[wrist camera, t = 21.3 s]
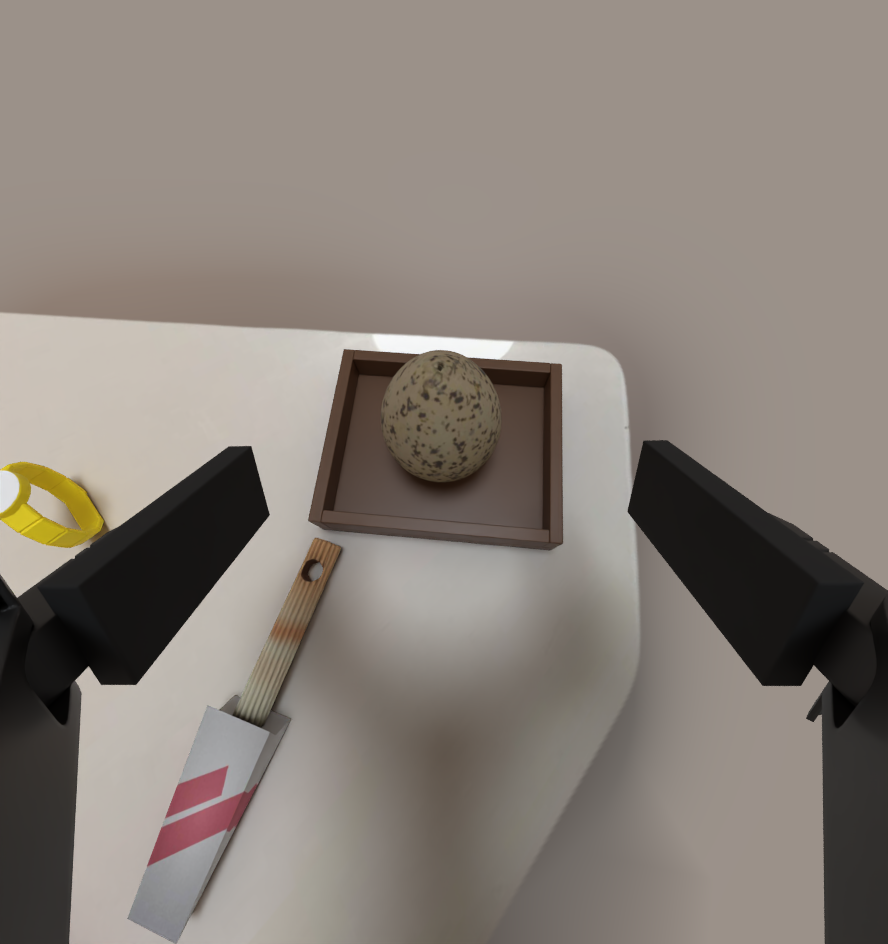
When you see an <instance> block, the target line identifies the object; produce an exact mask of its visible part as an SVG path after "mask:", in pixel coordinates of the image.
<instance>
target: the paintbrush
mask: <svg viewBox="0 0 888 944" xmlns="http://www.w3.org/2000/svg"><path fill="white" fill-rule="evenodd" d="M340 550H341V547H339V546H337V545H335V544H333V543H330V542H327V541H325V540H322V539H319V538H315V539H314V540H313V542H312V544H311V547H310V549H309V551H308V553H307V556H306V558H305V560H304V562H303V564H302V567H301V569H300V571H299V573H298V575H297V577H296V579H295V582H294V584H293V586H292V588H291V590H290V592H289V594H288V597H287V599H286V601H285V603H284V605H283V607H282V609H281V612H280V614H279V616H278V618H277V620H276V622H275V624H274V627H273V629H272V631H271V633H270V635H269V637H268V639H267V642H266V644H265V646H264V648H263V650H262V652H261V655H260V657H259V659H258V661H257V663H256V665H255V667H254V670H253V672H252V674H251V676H250V678H249V680H248V683H247V685H246V687H245V689H244V691H243V694H242V696H241V698H240V697H238V696H236V695H235V696H234V697H233V698H232V699H231V700H230V701H228V702H227V703H226V704H225V705H224V706H223V707H222V708H221V709H220V710H218V709H215V708H213V707H211V706H208V705H207V708H206V711H205V713H204V716H203V719H202V721H201V724H200V727H199V729H198V732H197V735H196V737H195V740H194V743H193V745H192V748H191V751H190V753H189V756H188V759H187V761H186V764H185V767H184V769H183V772H182V775H181V777H180V780H179V783H178V785H177V788H176V791H175V793H174V796H173V799H172V801H171V804H170V807H169V809H168V812H167V815H166V817H165V820H164V822H163V825H162V828H161V830H160V833H159V836H158V838H157V841H156V844H155V846H154V849H153V852H152V854H151V857H150V860H149V862H148V865H147V868H146V870H145V873H144V876H143V878H142V881H141V884H140V886H139V889H138V892H137V894H136V897H135V900H134V902H133V905H132V908H131V910H130V913H129V916H128V918H127V919H129V920H131V921H133V922H135V923H137V924H139V925H141V926H142V927H144V928H146V929H148V930H150V931H152V932H154V933H156V934H158V935H160V936H162V937H164V938H165V939H167V940H169V941H171V942H173V943H175V944H176V943H177V942H178V940H179V938H180V936H181V934H182V932H183V930H184V928H185V926H186V924H187V922H188V920H189V918H190V916H191V914H192V912H193V910H194V908H195V906H196V904H197V902H198V900H199V898H200V896H201V895H202V893H203V891H204V889H205V887H206V885H207V883H208V881H209V879H210V877H211V875H212V873H213V871H214V869H215V867H216V865H217V863H218V861H219V859H220V857H221V855H222V853H223V851H224V850H225V848H226V846H227V844H228V842H229V840H230V838H231V836H232V834H233V832H234V830H235V828H236V826H237V824H238V822H239V820H240V818H241V816H242V814H243V812H244V810H245V808H246V806H247V804H248V803H249V801H250V799H251V797H252V795H253V793H254V791H255V789H256V787H257V785H258V783H259V781H260V779H261V777H262V775H263V773H264V771H265V769H266V767H267V765H268V763H269V761H270V759H271V758H272V756H273V754H274V752H275V750H276V748H277V746H278V744H279V742H280V740H281V738H282V736H283V734H284V732H285V730H286V728H287V726H288V724H289V722H290V720H291V719H290V718H288V717H286V716H283V715H281V714H278V713H276V712H274V711H271V708H272V706H273V703H274V701H275V699H276V696H277V694H278V692H279V689H280V687H281V685H282V683H283V680H284V678H285V676H286V674H287V671H288V669H289V667H290V665H291V662H292V660H293V658H294V656H295V653H296V651H297V649H298V646H299V644H300V642H301V639H302V637H303V635H304V633H305V630H306V628H307V626H308V623H309V621H310V619H311V617H312V614H313V612H314V610H315V607H316V605H317V603H318V600H319V598H320V596H321V594H322V591H323V589H324V587H325V584H326V582H327V580H328V577H329V575H330V573H331V571H332V568H333V566H334V564H335V561H336V559H337V557H338V554H339V552H340ZM319 562H320V563H321V565H322V567H323V572H322V575H321V577H320V578H319V579H318V580H315V581H311V580H310V577H309V576H308V571H309V569H310V567H311V566H312V565H313V564H316V563H319Z"/></svg>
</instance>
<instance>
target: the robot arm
mask: <svg viewBox="0 0 888 944" xmlns="http://www.w3.org/2000/svg"><path fill="white" fill-rule="evenodd" d="M627 512H628V513H629V514H630V516H631V517H632V518H633V519H634V521H635V522H636V523H637V524H638V526H639V527H640V528H641V530H642V531H643V532H644V534H645V535H646V536H647V537H648V539H649V540H650V541H651V543H652V544H653V545H654V546H655V548H656V549H657V550H658V552H659V553H660V554H661V555H662V557H663V558H664V559H665V561H666V562H667V563H668V564H669V566H670V567H671V568H672V569H673V571H674V572H675V573H676V575H677V576H678V577H679V579H680V580H681V581H682V582H683V584H684V585H685V586H686V588H687V589H688V590H689V591H690V593H691V594H692V595H693V597H694V598H695V599H696V601H697V602H698V603H699V604H700V606H701V607H702V608H703V609H704V611H705V612H706V613H707V615H708V616H709V617H710V618H711V620H712V621H713V622H714V624H715V625H716V626H717V628H718V629H719V630H720V631H721V633H722V634H723V635H724V637H725V638H726V639H727V640H728V642H729V643H730V644H731V645H732V647H733V648H734V649H735V651H736V652H737V653H738V654H739V656H740V657H741V658H742V660H743V661H744V662H745V664H746V665H747V666H748V667H749V669H750V670H751V671H752V673H753V674H754V675H755V676H756V678H757V679H758V680H759V682H760V683H761V684H762V685H763V686H801V685H802V683H803V682H804V680H805V678H806V677H807V675H808V674H809V672H810V670H811V669H812V667H813V665H814V666H815V667H816V668H817V669H818V670H819V671H820V672H821V673H822V674H823V675H824V676H825V677H826V678H827V679H828V680H829V682H828V684H827V685H826V687H825V688H824V690H823V691H822V693H821V694H820V696H819V697H818V699H817V700H816V702H815V703H814V705H813V706H812V708H811V709H810V711H809V713H808V715H807V718H806V719H808V720H810V721H812V722H814V720H815V719H816V718H817V716H818V715H821V714H822V745H823V746H822V747H823V749H822V750H823V751H822V752H823V830H824V831H823V834H824V909H825V910H824V913H825V914H824V915H825V916H824V918H825V944H888V590H886V589H885V588H883V587H882V586H880V585H879V584H878V583H876V582H875V581H873V580H872V579H870V578H869V577H868V576H866V575H865V574H863V573H862V572H860V571H859V570H858V569H856V568H855V567H853V566H852V565H850V564H849V563H847V562H846V561H845V560H843V559H842V558H841V557H839V556H837V555H836V554H835V553H833V552H831V553H830V552H829V549H828V548H826V547H825V546H823V545H822V544H820V543H819V542H818V541H813V538H812V537H811V536H809V535H808V534H806V533H805V532H803V531H802V530H800V529H799V528H798V527H796V526H795V525H793V524H791V523H789V522H787V521H785V520H783V519H780V518H778V517H776V516H774V515H771V514H770V513H767V512H766V511H764V510H763V509H761V508H760V507H759V506H757V505H756V504H755V503H753V502H752V501H751V500H749V499H748V498H746V497H745V496H744V495H742V494H741V493H739V492H738V491H737V490H735V489H734V488H732V487H731V486H729V485H728V484H727V483H726V482H724V481H723V480H721V479H720V478H718V477H717V476H716V475H714V474H713V473H711V472H710V471H709V470H707V469H706V468H704V467H703V466H702V465H701V464H699V463H698V462H696V461H695V460H694V459H692V458H691V457H689V456H688V455H687V454H685V453H684V452H683V451H681V450H680V449H678V448H677V447H676V446H674V445H673V444H671V443H670V442H669V441H666V440H665V441H663V440H660V441H643V446H642V450H641V454H640V459H639V463H638V468H637V472H636V476H635V481H634V485H633V489H632V494H631V498H630V503H629V507H628V511H627ZM269 515H270V514H269V511H268V507H267V503H266V500H265V496H264V492H263V488H262V485H261V481H260V477H259V473H258V470H257V466H256V462H255V459H254V455H253V451H252V447H251V446H232V447H228V448H226V449H225V450H223V451H222V452H221V453H219V454H218V455H217V456H215V457H214V458H213V459H211V460H210V461H208V462H207V463H206V464H204V465H203V466H202V467H200V468H199V469H197V470H196V471H195V472H193V473H192V474H191V475H189V476H188V477H186V478H185V479H184V480H182V481H181V482H180V483H178V484H177V485H176V486H174V487H173V488H171V489H170V490H169V491H167V492H166V493H165V494H163V495H162V496H160V497H159V498H158V499H156V500H155V501H154V502H152V503H151V504H149V505H148V506H147V507H145V508H144V509H143V510H141V511H140V512H139V513H137V514H136V515H134V516H133V517H132V518H130V519H129V520H128V521H126V522H125V523H123V524H122V525H121V526H119V527H117V528H115V529H113V530H111V531H109V532H108V533H106V534H105V535H104V536H102V537H101V538H99V539H98V540H97V541H95V542H94V543H92V544H91V545H90V548H86V549H84V550H83V551H81V552H80V553H79V554H77V555H76V556H75V559H70V560H69V561H68V562H66V563H65V564H63V565H62V566H61V567H59V568H58V569H56V570H55V571H54V572H52V573H51V574H50V575H48V576H47V577H45V578H44V579H43V580H41V581H40V582H39V583H37V584H36V585H34V586H33V587H32V588H30V589H29V590H27V591H26V592H25V593H23V594H22V595H21V596H19V597H18V598H17V597H16V596H15V595H14V593H13V592H12V590H11V589H10V587H9V586H8V585H7V583H6V582H5V580H4V579H3V577H2V576H1V575H0V944H69V932H70V912H71V892H72V872H73V852H74V832H75V812H76V793H77V773H78V753H79V733H80V713H81V691H80V688H79V686H78V685H77V683H76V682H75V680H76V679H77V678H78V677H79V676H80V675H81V674H82V673H83V671H84V670H85V669H86V668H87V667H88V666H89V667H90V669H91V670H92V672H93V673H94V675H95V676H96V678H97V679H98V681H99V682H100V684H101V685H136V684H137V683H138V682H139V681H140V679H141V678H142V677H143V675H144V674H145V673H146V672H147V670H148V669H149V668H150V667H151V665H152V664H153V663H154V661H155V660H156V659H157V658H158V656H159V655H160V654H161V653H162V651H163V650H164V649H165V647H166V646H167V645H168V644H169V642H170V641H171V640H172V639H173V637H174V636H175V635H176V633H177V632H178V631H179V630H180V628H181V627H182V626H183V625H184V623H185V622H186V621H187V620H188V618H189V617H190V616H191V614H192V613H193V612H194V611H195V609H196V608H197V607H198V606H199V604H200V603H201V602H202V600H203V599H204V598H205V597H206V595H207V594H208V593H209V592H210V590H211V589H212V588H213V586H214V585H215V584H216V583H217V581H218V580H219V579H220V578H221V576H222V575H223V574H224V572H225V571H226V570H227V569H228V567H229V566H230V565H231V564H232V562H233V561H234V560H235V558H236V557H237V556H238V555H239V553H240V552H241V551H242V550H243V548H244V547H245V546H246V544H247V543H248V542H249V541H250V539H251V538H252V537H253V536H254V534H255V533H256V532H257V530H258V529H259V528H260V527H261V525H262V524H263V523H264V522H265V520H266V519H267V518H268V516H269Z"/></svg>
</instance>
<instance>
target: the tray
mask: <svg viewBox="0 0 888 944" xmlns="http://www.w3.org/2000/svg"><path fill="white" fill-rule="evenodd" d="M418 355H420V354H406V353H391V352H376V351H361V350H355V351H354V350H346V349H344V351H343V356H342V361H341V366H340V371H339V375H338V380H337V385H336V390H335V395H334V399H333V404H332V409H331V414H330V418H329V423H328V428H327V433H326V438H325V442H324V447H323V452H322V457H321V462H320V466H319V471H318V476H317V481H316V485H315V490H314V495H313V500H312V505H311V509H310V514H309V519H308V521H309V522H311V523H313V524H315V525H317V526H319V527H320V528H322V529H325V530H336V531H347V532H358V533H369V534H380V535H391V536H402V537H413V538H424V539H435V540H446V541H457V542H468V543H479V544H490V545H501V546H512V547H523V548H533V549H544V550H551V549H553V548H555V547H557V546H559V545H561V544H563V487H562V364H550V363H539V362H524V361H510V360H495V359H480V358H468V359H470V360H471V361H473V362H474V363H475V364H477V365H478V366H479V367H480V368H481V369H482V370H483V371H484V372H485V374H486V375H487V376H488V378H489V379H490V381H491V382H492V384H493V386H494V388H495V390H496V393H497V395H498V398H499V402H500V407H501V419H502V421H501V431H500V437H499V439H498V442H497V445H496V447H495V449H494V451H493V453H492V454H491V456H490V457H489V459H488V460H487V461H486V462H485V463H484V464H483V465H482V466H481V467H480V468H479V469H478V470H477V471H475V472H474V473H472V474H471V475H469V476H467V477H465V478H462V479H459V480H456V481H451V482H433V481H428V480H424V479H421V478H419V477H417V476H415V475H413V474H411V473H409V472H408V471H406V470H405V469H404V468H403V467H402V466H401V465H400V464H399V463H398V462H397V461H396V460H395V459H394V457H393V456H392V454H391V453H390V451H389V449H388V447H387V445H386V442H385V440H384V437H383V433H382V428H381V407H382V402H383V398H384V395H385V392H386V389H387V387H388V385H389V383H390V381H391V380H392V378H393V377H394V375H395V374H396V373H397V372H398V371H399V369H400V368H401V367H402V366H404V365H405V364H406V363H407V362H408V361H409V360H411V359H413V358H414V357H416V356H418Z"/></svg>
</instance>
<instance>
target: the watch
mask: <svg viewBox="0 0 888 944" xmlns="http://www.w3.org/2000/svg"><path fill="white" fill-rule="evenodd" d="M30 483H31V484H33V485H35V486H38V487H40V488H42V489H44V490H47V491H48V492H50V493H51V494H52V495H54V496H55V497H57V498H58V499H59V500H61V501H62V502H64V503H65V504H66V506H67V507H68V509H69V511H70V512H71V514H72V515H73V517H74V518H75V520H76V522H77V523H78V525H79V526H80V528H81V530H76V529H71V528H66V527H64V526H62V525H60V524H58V523H56V522H54V521H52V520H49V519H47V518H45V517H43V516H42V515H41V514H40V513H38V512H37V511H36V510H35V509H33V508H32V507H31V506H30V505H28V504H27V502H28V499H29V497H30V494H31V486H30ZM86 493H87V492H86V491H85V490H84V489H82V488H81V487H80V486H78V485H77V484H76V483H74V482H73V481H72V480H70V479H69V478H66V476H64V475H62V474H60V473H58V472H56V471H54V470H52V469H50V468H48V467H45V466H41V465H37V464H32V463H28V462H18V463H13V464H9V465H7V466H5V467H4V468H2V469H0V520H2V521H3V522H4V523H5V524H7V525H8V526H9V527H11V528H12V529H13V530H15V531H16V532H17V533H20V534H21V535H23V536H25V537H28V538H30V539H32V540H35V541H37V542H39V543H42V544H46V545H49V546H57V547H65V548H71V547H74V546H77V545H79V544H82V543H84V542H85V541H87V540H88V539H90V538H91V537H93V536H94V535H95V534H97V533H98V532H99V531H101V528H102V525H103V523H104V520H103V519H102V517H101V516H100V514H99V513H98V511H97V510H96V508H95V507H94V505H93V503H92V502H91V500H90V499H89V497H88V496H87V494H86Z"/></svg>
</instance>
